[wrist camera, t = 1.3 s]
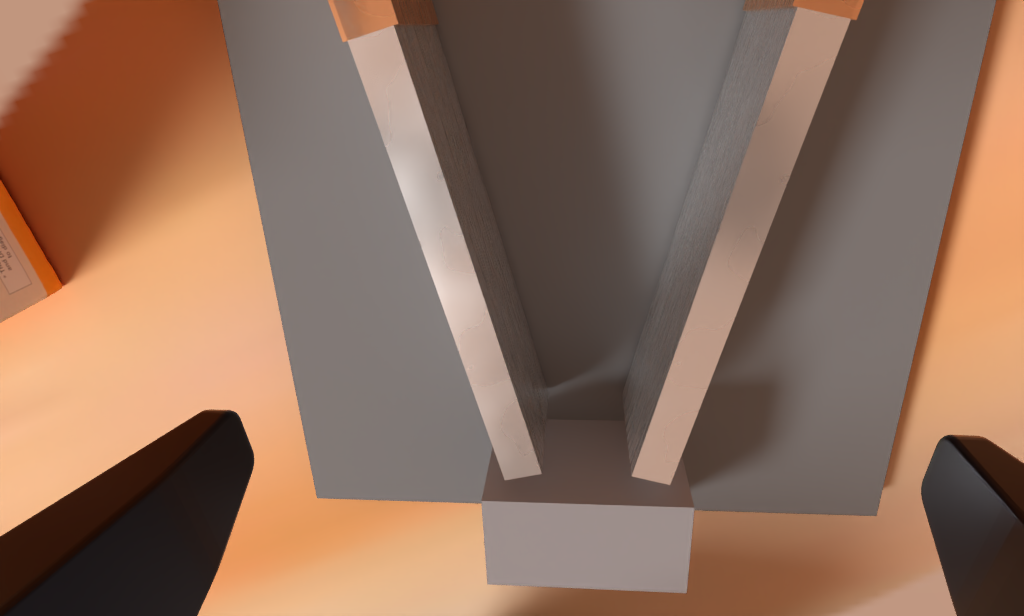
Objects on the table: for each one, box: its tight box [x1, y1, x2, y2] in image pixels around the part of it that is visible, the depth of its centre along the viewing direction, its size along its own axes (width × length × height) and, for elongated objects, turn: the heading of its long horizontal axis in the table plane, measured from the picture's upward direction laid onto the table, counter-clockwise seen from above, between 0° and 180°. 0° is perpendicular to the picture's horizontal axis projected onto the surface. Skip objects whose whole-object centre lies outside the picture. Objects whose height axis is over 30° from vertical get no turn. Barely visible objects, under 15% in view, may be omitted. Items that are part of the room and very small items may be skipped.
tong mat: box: [217, 0, 996, 593], centre depth 16 cm, size 22×19×5 cm
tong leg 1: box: [328, 0, 549, 480], centre depth 16 cm, size 14×1×4 cm, turn 16°
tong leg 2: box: [622, 0, 864, 485], centre depth 15 cm, size 14×1×4 cm, turn 168°
